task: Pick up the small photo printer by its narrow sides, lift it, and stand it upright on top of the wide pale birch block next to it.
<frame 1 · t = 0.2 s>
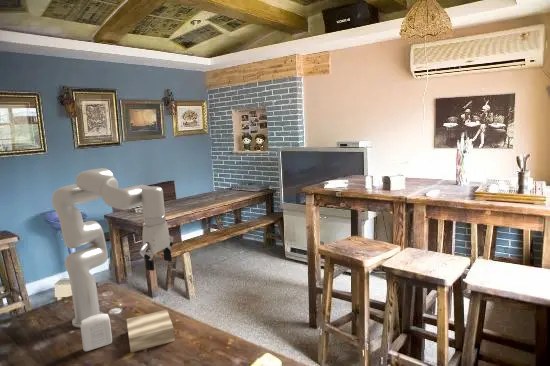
hand: (159, 265, 142), 31 cm above the table, tool pointing down, fingers open, 9 cm apart
birch block: (150, 337, 152), on the table
photo printer: (98, 346, 147), on the table
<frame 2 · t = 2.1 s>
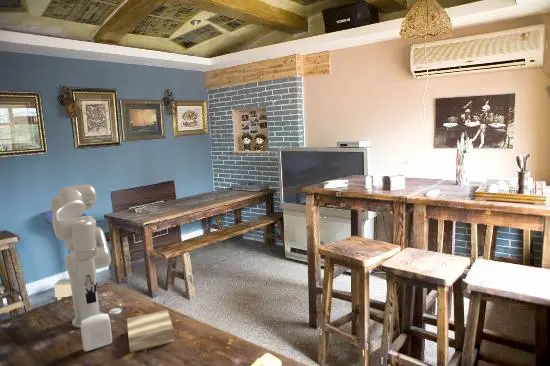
hand: (91, 297, 143), 20 cm above the table, tool pointing down, fingers open, 9 cm apart
nothing on the table moved.
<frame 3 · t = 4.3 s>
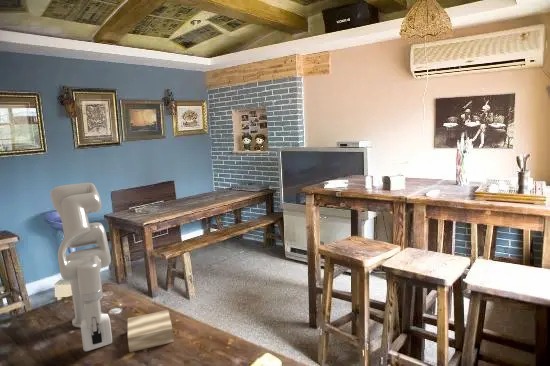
hand: (97, 339, 146), 3 cm above the table, tool pointing down, fingers closed on photo printer, 4 cm apart
photo printer: (98, 346, 147), on the table, touching gripper
everything else where it was.
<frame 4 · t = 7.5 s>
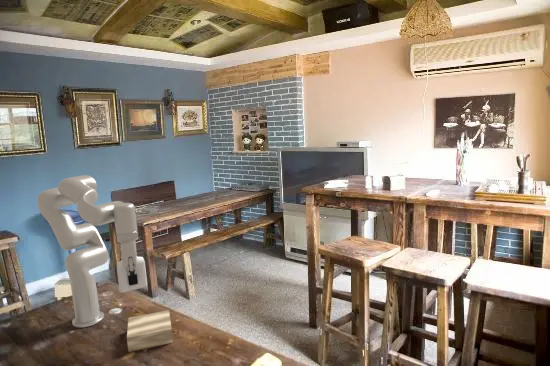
hand: (133, 281, 146), 24 cm above the table, tool pointing down, fingers closed on photo printer, 4 cm apart
photo printer: (133, 289, 147), point 21 cm above the table, touching gripper
everything else where it was.
when the fingers open (10 cm above the table, at t = 11.2 s): photo printer drops 1 cm, resting on birch block.
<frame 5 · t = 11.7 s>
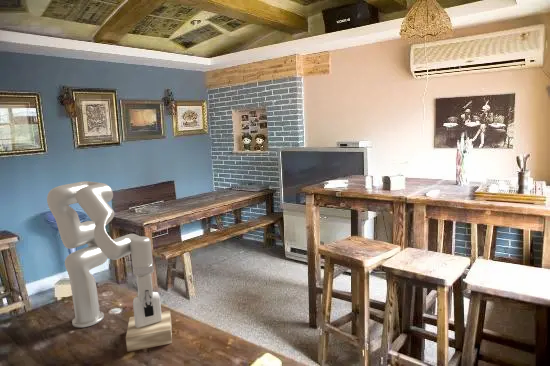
hand: (147, 310, 150), 11 cm above the table, tool pointing down, fingers open, 9 cm apart
birch block: (150, 337, 152), on the table, touching photo printer
photo printer: (149, 323, 151), point 5 cm above the table, touching birch block
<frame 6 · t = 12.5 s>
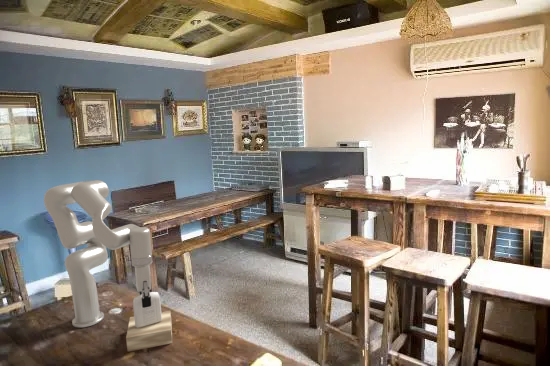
hand: (145, 301, 150), 15 cm above the table, tool pointing down, fingers open, 9 cm apart
nothing on the table moved.
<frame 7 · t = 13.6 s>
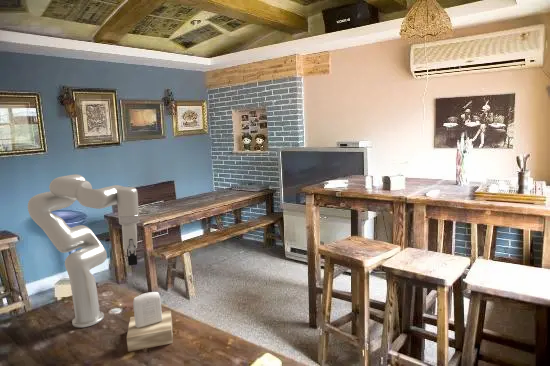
hand: (132, 260, 153), 30 cm above the table, tool pointing down, fingers open, 9 cm apart
birch block: (151, 337, 152), on the table
photo printer: (149, 323, 151), point 5 cm above the table
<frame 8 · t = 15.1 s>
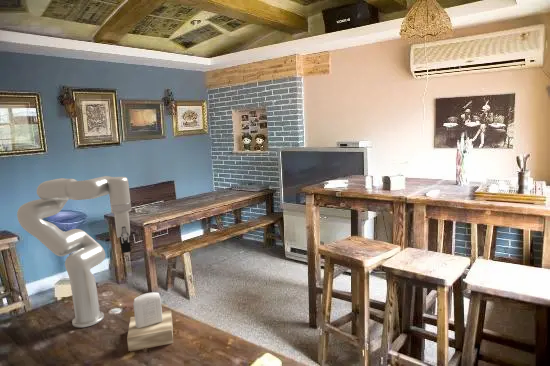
hand: (125, 248, 156), 33 cm above the table, tool pointing down, fingers open, 9 cm apart
birch block: (152, 337, 152), on the table, touching photo printer
photo printer: (149, 323, 150), point 5 cm above the table, touching birch block
at the end: photo printer inside the target area on the birch block (0.4 cm from its centre), point 5.8 cm above the birch block's base; photo printer tilted 1°; the gripper is holding nothing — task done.
